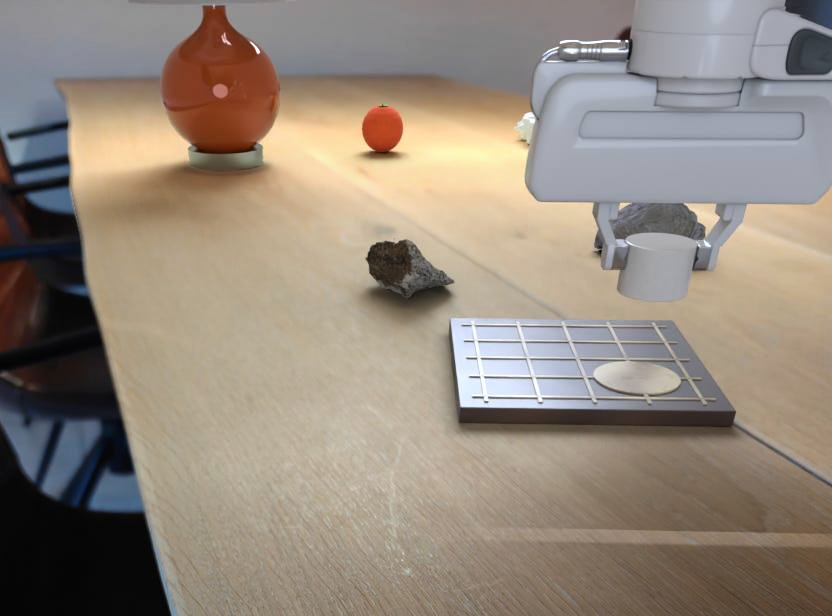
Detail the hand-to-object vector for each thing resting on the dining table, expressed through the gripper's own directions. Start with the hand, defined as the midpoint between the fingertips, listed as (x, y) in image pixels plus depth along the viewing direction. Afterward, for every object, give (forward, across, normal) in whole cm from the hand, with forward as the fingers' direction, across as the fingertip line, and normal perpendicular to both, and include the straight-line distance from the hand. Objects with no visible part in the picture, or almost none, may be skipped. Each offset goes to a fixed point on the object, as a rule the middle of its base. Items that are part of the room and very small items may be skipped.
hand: (656, 268), depth 66 cm
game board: (+9, -4, +4) cm, 11 cm away
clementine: (+10, -22, +104) cm, 107 cm away
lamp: (+10, -47, +93) cm, 105 cm away
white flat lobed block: (+9, +9, +118) cm, 119 cm away
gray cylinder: (+2, 0, 0) cm, 2 cm away
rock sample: (+10, -18, +26) cm, 33 cm away
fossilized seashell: (+10, +10, +41) cm, 43 cm away
